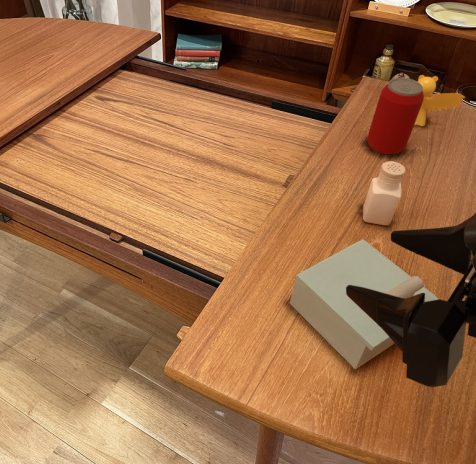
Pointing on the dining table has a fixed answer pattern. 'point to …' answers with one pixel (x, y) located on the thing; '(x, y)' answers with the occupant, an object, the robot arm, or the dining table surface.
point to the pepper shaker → (384, 194)
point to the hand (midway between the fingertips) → (370, 261)
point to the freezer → (333, 328)
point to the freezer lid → (363, 275)
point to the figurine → (435, 99)
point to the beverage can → (395, 115)
